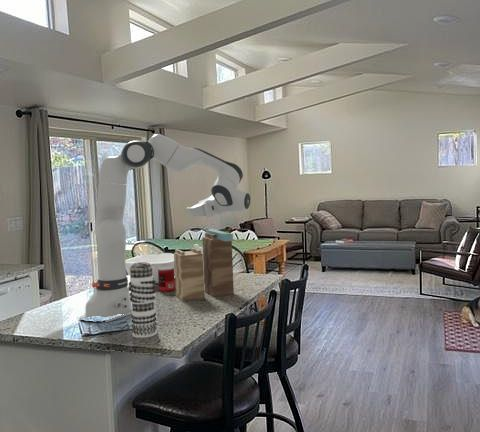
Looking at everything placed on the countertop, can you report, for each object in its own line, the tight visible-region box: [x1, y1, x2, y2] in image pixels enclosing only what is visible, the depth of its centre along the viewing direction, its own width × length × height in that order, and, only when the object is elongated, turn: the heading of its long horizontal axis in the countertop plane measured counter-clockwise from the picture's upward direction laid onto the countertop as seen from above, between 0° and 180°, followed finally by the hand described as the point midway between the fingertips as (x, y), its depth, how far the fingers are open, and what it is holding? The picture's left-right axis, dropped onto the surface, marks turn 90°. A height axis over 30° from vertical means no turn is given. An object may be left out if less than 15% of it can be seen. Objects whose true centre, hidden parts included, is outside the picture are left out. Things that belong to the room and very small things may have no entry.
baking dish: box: [125, 252, 175, 285], centre depth 269 cm, size 34×28×13 cm
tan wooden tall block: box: [173, 247, 206, 302], centre depth 230 cm, size 12×10×22 cm
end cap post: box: [201, 232, 235, 298], centre depth 235 cm, size 12×10×28 cm
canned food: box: [158, 266, 176, 293], centre depth 246 cm, size 8×8×11 cm
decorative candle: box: [128, 262, 158, 339], centre depth 176 cm, size 9×9×25 cm
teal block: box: [205, 228, 234, 242], centre depth 231 cm, size 26×4×3 cm, turn 22°
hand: (192, 206), depth 232 cm, fingers open, 8 cm apart
